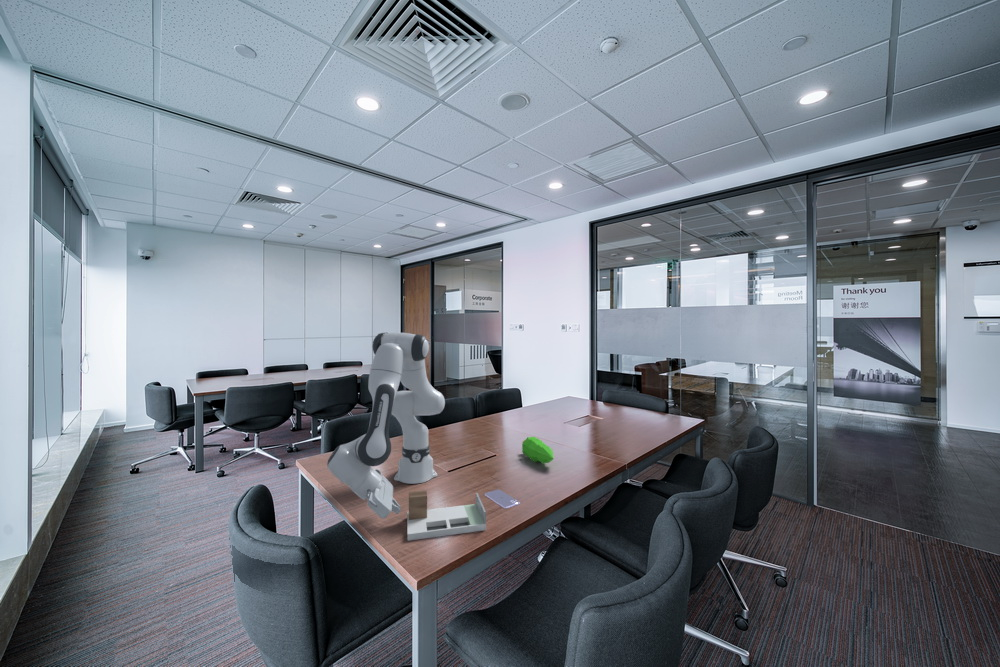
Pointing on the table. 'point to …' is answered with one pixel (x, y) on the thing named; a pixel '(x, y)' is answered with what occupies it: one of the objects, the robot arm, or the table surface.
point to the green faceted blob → (537, 450)
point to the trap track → (448, 521)
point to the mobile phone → (502, 498)
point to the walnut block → (417, 504)
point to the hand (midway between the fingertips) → (399, 510)
